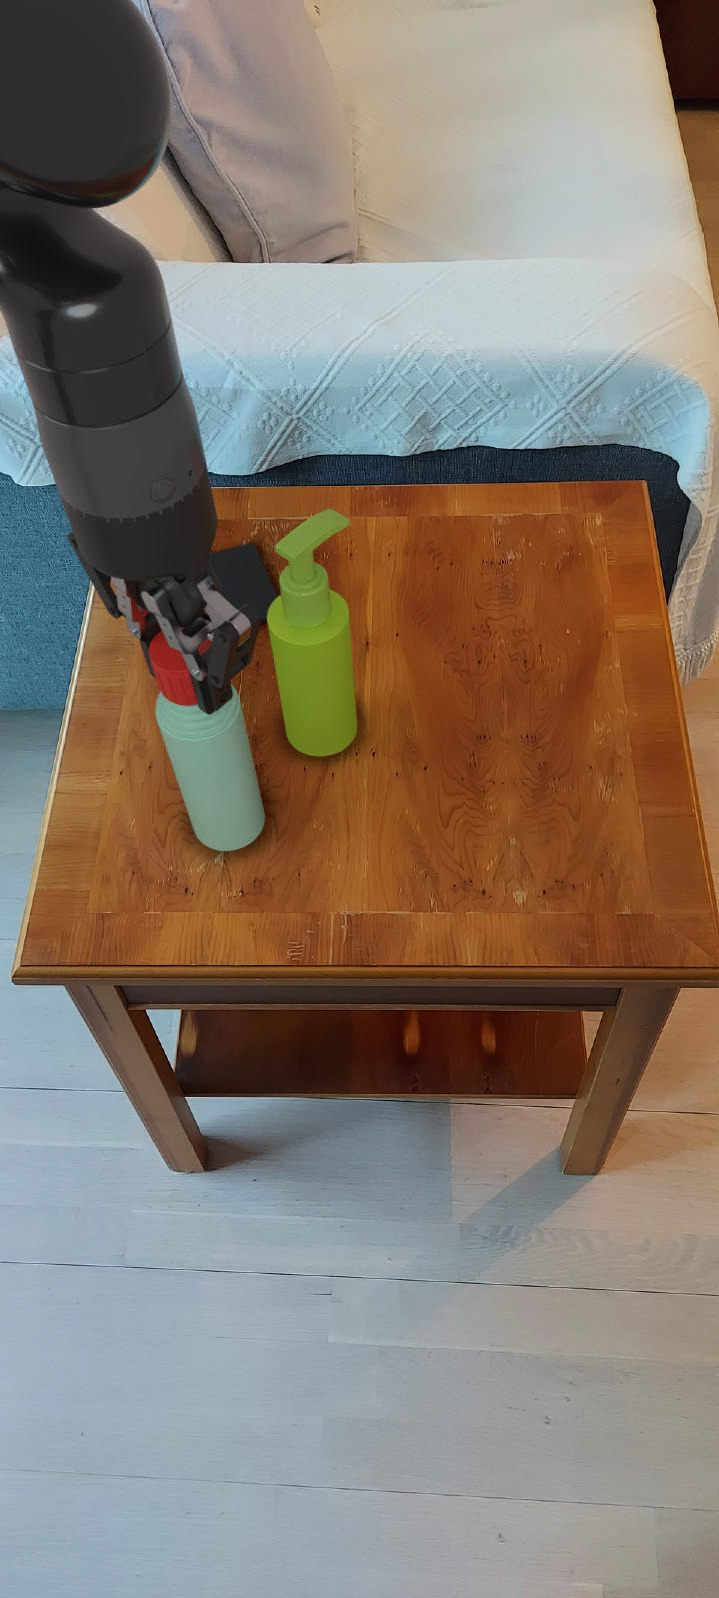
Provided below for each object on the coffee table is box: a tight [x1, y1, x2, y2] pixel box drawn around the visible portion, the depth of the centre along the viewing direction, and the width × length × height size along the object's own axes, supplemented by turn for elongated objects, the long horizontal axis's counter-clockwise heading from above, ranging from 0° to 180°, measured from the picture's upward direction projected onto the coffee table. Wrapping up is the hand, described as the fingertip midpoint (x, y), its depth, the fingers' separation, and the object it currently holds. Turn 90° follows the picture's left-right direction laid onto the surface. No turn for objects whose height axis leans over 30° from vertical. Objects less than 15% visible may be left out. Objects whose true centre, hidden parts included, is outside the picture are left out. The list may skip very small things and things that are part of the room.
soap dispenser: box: [266, 508, 358, 757], centre depth 74 cm, size 6×7×20 cm
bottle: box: [154, 683, 266, 852], centre depth 69 cm, size 6×6×19 cm
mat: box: [209, 542, 279, 625], centre depth 91 cm, size 10×10×1 cm
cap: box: [149, 627, 210, 706], centre depth 62 cm, size 4×4×3 cm
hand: (191, 686), depth 64 cm, fingers closed on cap, 4 cm apart
